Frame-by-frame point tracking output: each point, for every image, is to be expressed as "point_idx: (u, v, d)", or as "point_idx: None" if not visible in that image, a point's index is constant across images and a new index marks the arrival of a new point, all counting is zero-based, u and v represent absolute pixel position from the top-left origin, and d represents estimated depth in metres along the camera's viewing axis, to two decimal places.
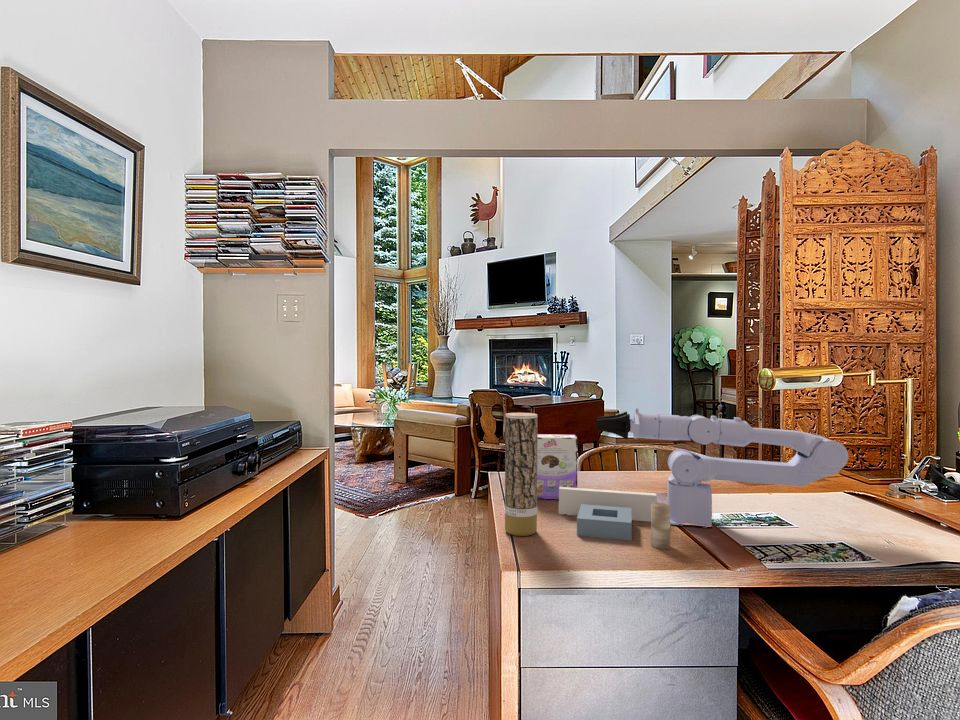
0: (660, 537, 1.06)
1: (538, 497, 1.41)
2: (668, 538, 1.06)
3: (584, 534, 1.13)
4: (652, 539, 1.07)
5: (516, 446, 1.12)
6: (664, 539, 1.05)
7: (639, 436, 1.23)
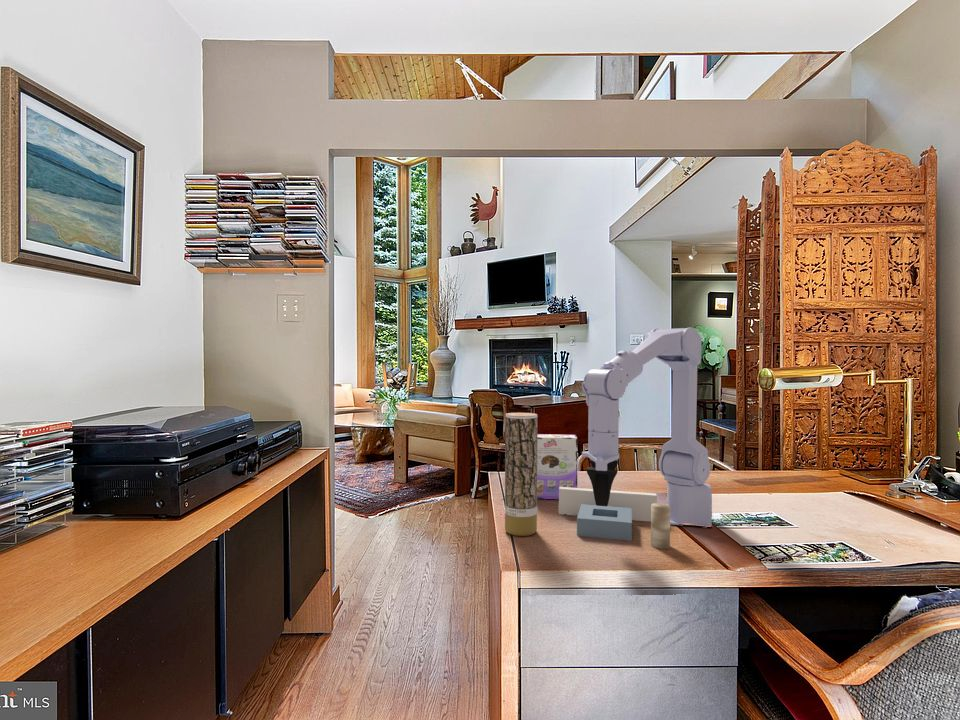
0: (660, 537, 1.06)
1: (538, 497, 1.41)
2: (668, 538, 1.06)
3: (584, 534, 1.13)
4: (652, 539, 1.07)
5: (516, 446, 1.12)
6: (664, 539, 1.05)
7: (615, 453, 1.03)
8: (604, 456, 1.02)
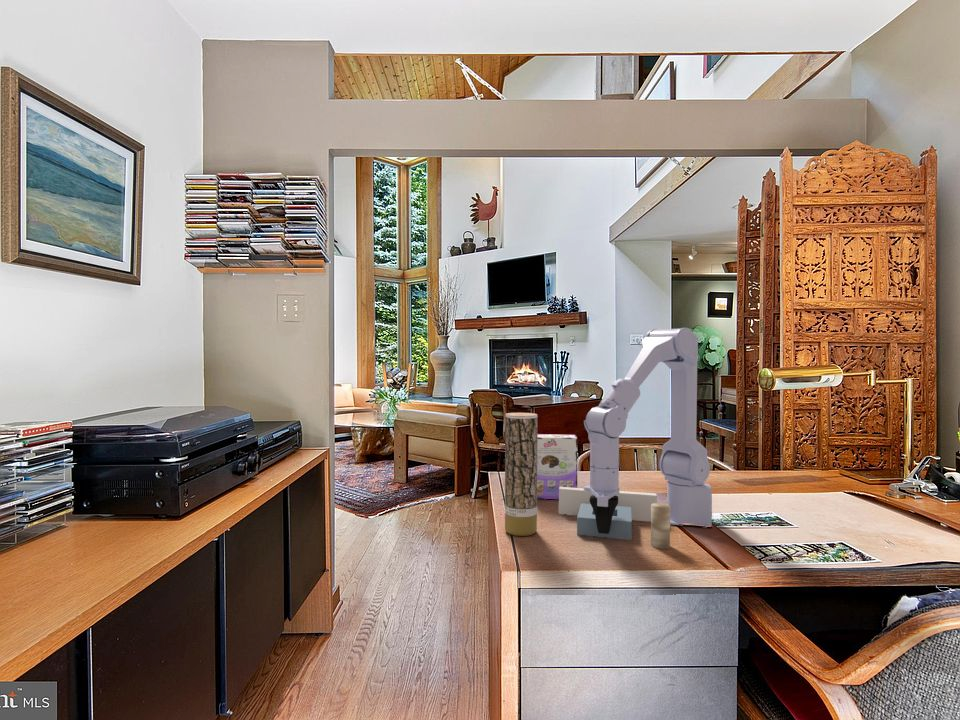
0: (660, 537, 1.06)
1: (538, 497, 1.41)
2: (668, 538, 1.06)
3: (584, 533, 1.13)
4: (652, 539, 1.07)
5: (516, 446, 1.12)
6: (664, 539, 1.05)
7: (615, 488, 1.08)
8: (605, 491, 1.08)
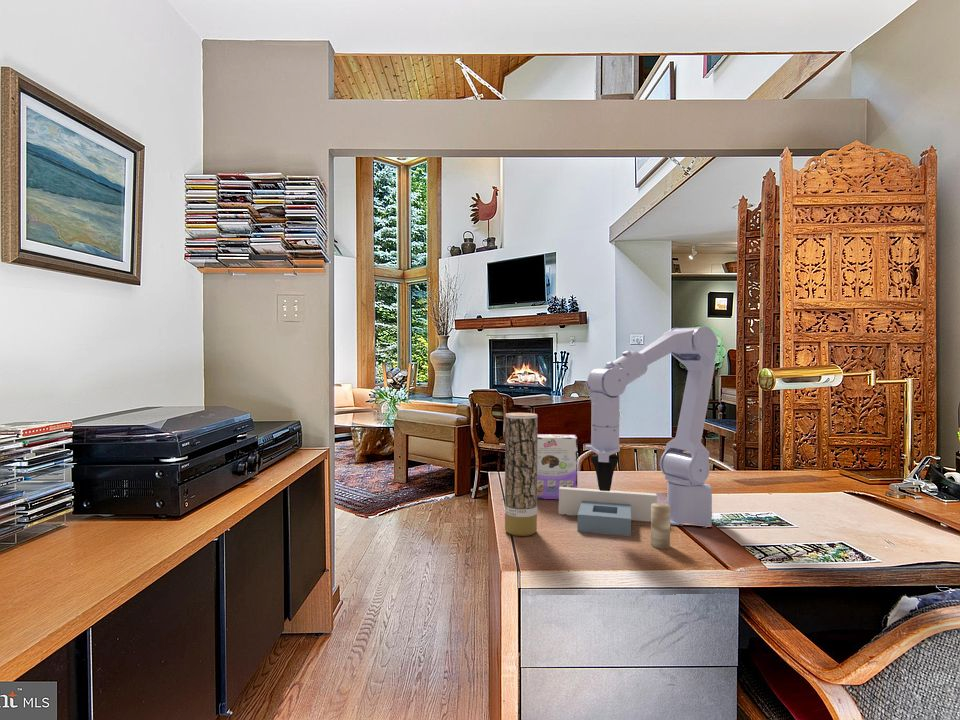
0: (660, 537, 1.06)
1: (538, 497, 1.41)
2: (668, 538, 1.06)
3: (584, 530, 1.15)
4: (652, 539, 1.07)
5: (516, 446, 1.12)
6: (664, 539, 1.05)
7: (616, 446, 1.11)
8: (606, 449, 1.11)
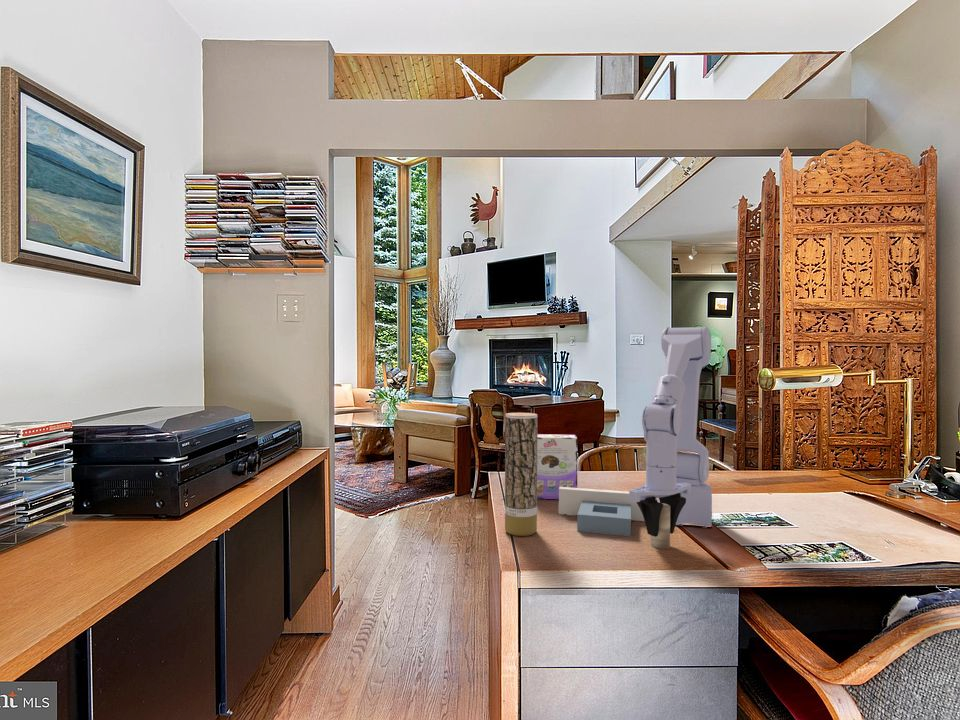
0: (660, 537, 1.06)
1: (538, 497, 1.41)
2: (668, 538, 1.06)
3: (584, 530, 1.15)
4: (652, 539, 1.07)
5: (516, 446, 1.12)
6: (664, 539, 1.05)
7: (663, 488, 1.04)
8: (650, 489, 1.05)
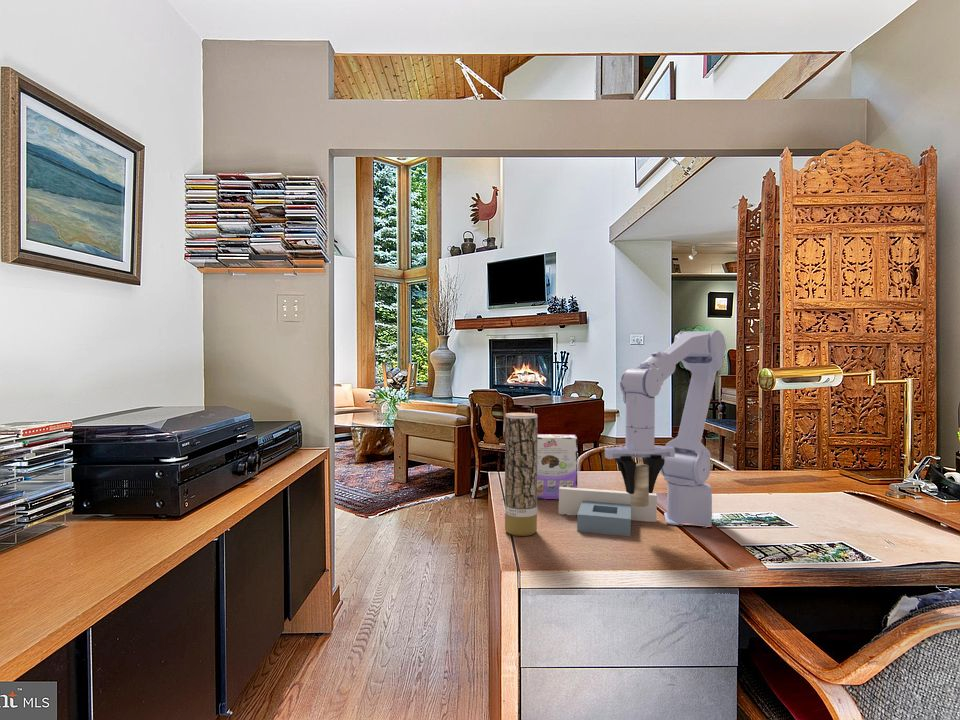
0: (636, 495, 1.10)
1: (538, 497, 1.41)
2: (645, 497, 1.10)
3: (584, 530, 1.15)
4: (630, 497, 1.12)
5: (516, 446, 1.12)
6: (640, 498, 1.10)
7: (637, 448, 1.09)
8: (627, 449, 1.11)
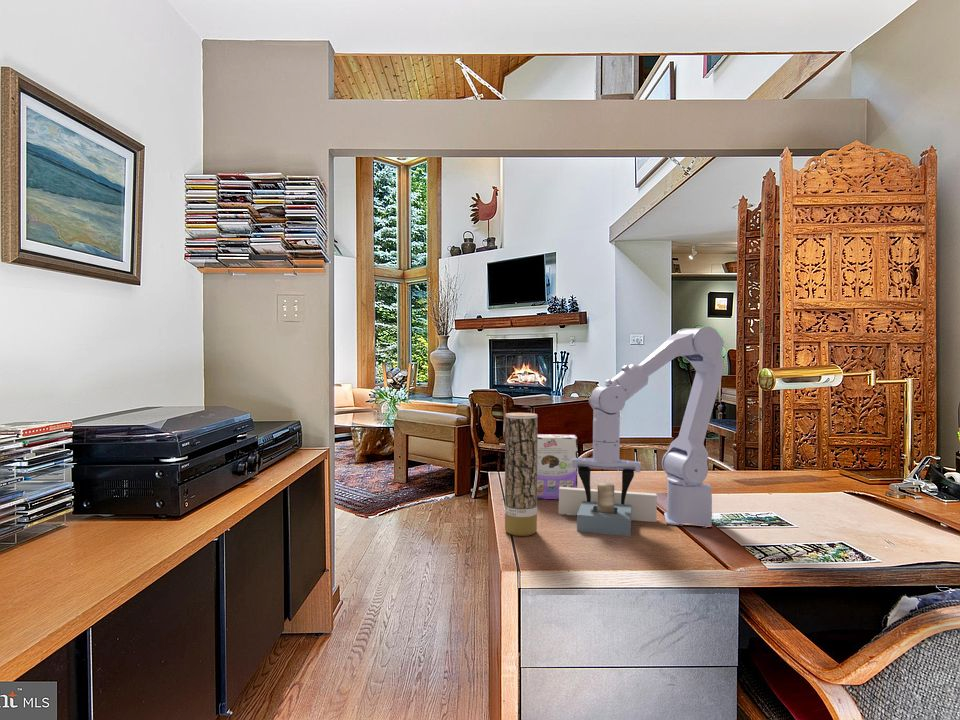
0: (599, 512, 1.19)
1: (538, 497, 1.41)
2: None
3: (584, 530, 1.15)
4: None
5: (516, 446, 1.12)
6: None
7: (598, 460, 1.18)
8: (592, 460, 1.20)
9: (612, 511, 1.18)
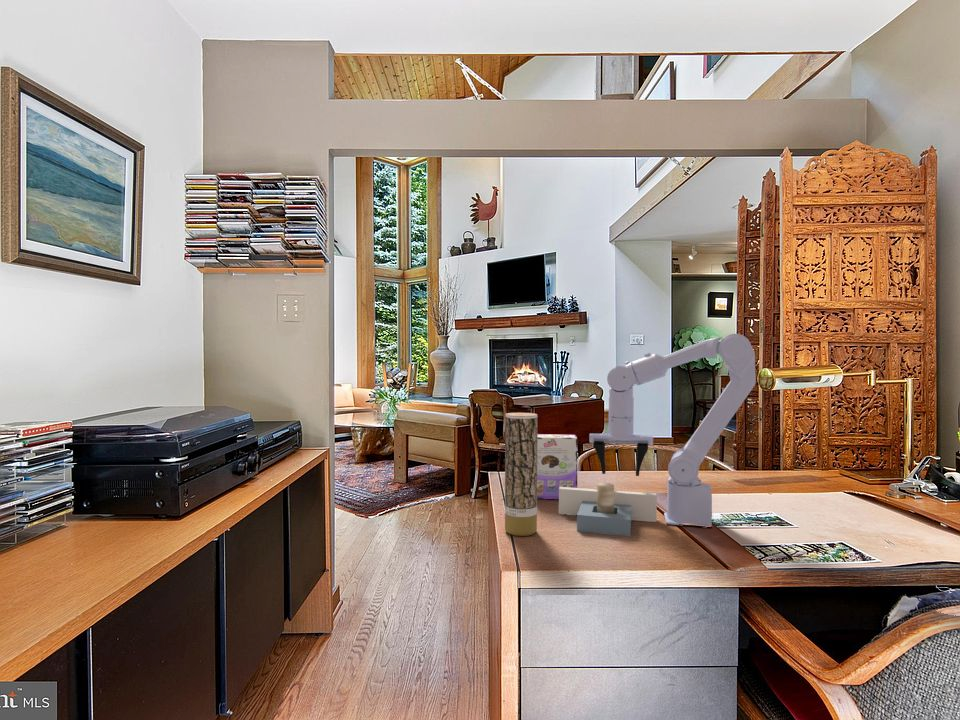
0: (599, 512, 1.19)
1: (538, 497, 1.41)
2: None
3: (584, 530, 1.15)
4: None
5: (516, 446, 1.12)
6: None
7: (613, 434, 1.27)
8: (607, 435, 1.29)
9: (612, 511, 1.18)
